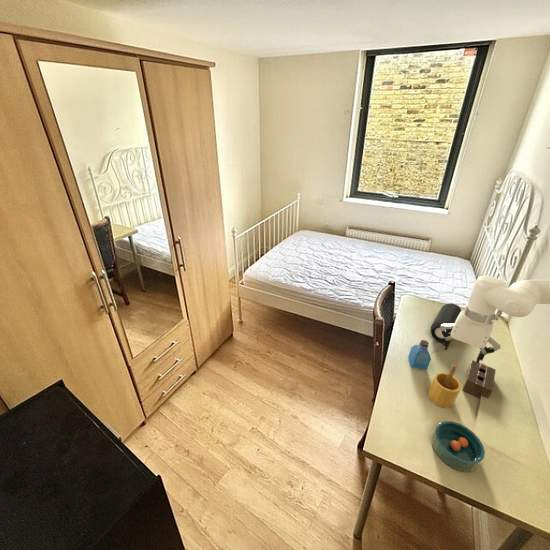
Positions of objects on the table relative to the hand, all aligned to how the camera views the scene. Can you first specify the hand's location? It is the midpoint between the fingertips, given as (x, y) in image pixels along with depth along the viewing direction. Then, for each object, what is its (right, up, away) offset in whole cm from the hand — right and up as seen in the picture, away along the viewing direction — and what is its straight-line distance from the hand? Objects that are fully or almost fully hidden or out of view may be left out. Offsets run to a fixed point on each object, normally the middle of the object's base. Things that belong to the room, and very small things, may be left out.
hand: (461, 354), depth 100 cm
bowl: (-6, -30, -6) cm, 31 cm away
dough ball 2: (-3, -27, -6) cm, 28 cm away
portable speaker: (+21, -1, +48) cm, 52 cm away
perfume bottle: (-2, -12, +27) cm, 29 cm away
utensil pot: (-1, -20, +11) cm, 23 cm away
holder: (+17, -17, +17) cm, 30 cm away
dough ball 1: (-6, -28, -7) cm, 29 cm away
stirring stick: (0, -19, +12) cm, 22 cm away
